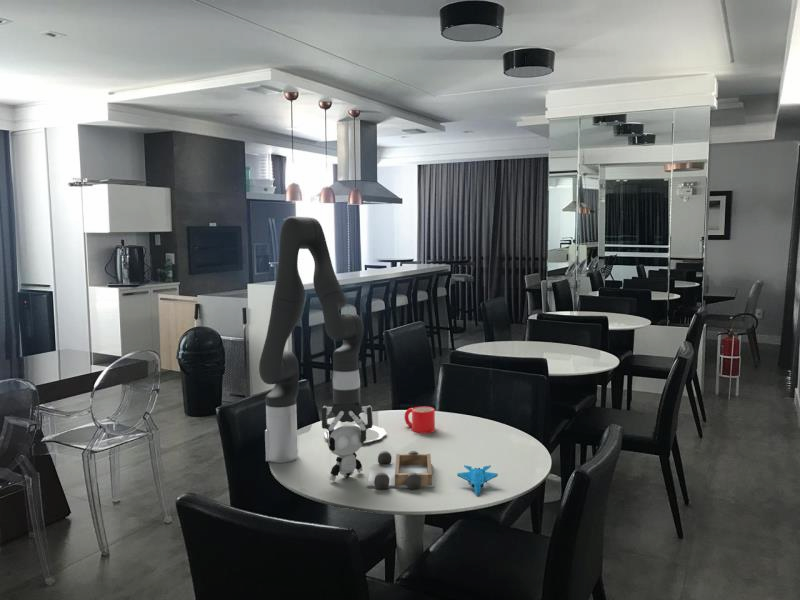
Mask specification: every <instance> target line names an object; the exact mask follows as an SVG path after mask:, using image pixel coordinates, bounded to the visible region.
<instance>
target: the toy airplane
mask: <svg viewBox="0 0 800 600" xmlns="http://www.w3.org/2000/svg"><path fill="white" fill-rule="evenodd" d="M463 467H464V468H465V469H467V471H464V472H457V474H456V475H457V477H459V478H461V479H463V480H465V481H467V482H468V483H470V486H471V487H472V488H473V489H474V492H475V495H476V496H477V497H478V496H479V495H480V493H481V490H482V488H483V487H485V484H488V481H491V480H492V479H495V478H497V477H498V474H499V473H496V472H490V471H488V470H489V469H490V468H492V466H491V465H490V464H489V465H485V466H483V467H482V468H480V467H478V468H477V467H474V468H472V466H470V465H465V464H464V466H463Z"/></svg>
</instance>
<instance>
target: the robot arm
mask: <svg viewBox="0 0 800 600" xmlns="http://www.w3.org/2000/svg"><path fill="white" fill-rule="evenodd" d="M279 236H280V237H279V246H278V247H279V251H278V263H277V273H276V278H275V279H276V280H275V286H274V290H273V294H272V295H273V296H272V302H271V307H270V308H271V309H270V315H269V316H270V317H269V321H268V326H267V331H266V336H265V341H264V344H263V348H262V352H261V354H260V355H261V356H260V360H259V364H258V373H259V376H260V379H261V380H262V382H263V383H265V384H266V385H274V387H273V388H272V389H271V391H269V392H268V393H267V394H266V395H265V415H266V416H265V420H266V421H265V423H266V429H265V430H264V442H265V445H264V446H265V448H264V449H265V462H271V463H276V464H278V463H280V464H283V463H290V462H292V461H295V460H297V459H298V458H297V457H299V455H298V452H299V451H298V450H299V449H298V421H297V416H298V415H297V413H298V412H297V398H298V395H299V386H300V385H299V383H300V381H299V379H300V368H299V367H300V366H299V362H298V361H299V360H298V358H297V356H296V355H295V354H294V353H293V352H292V351H290V350H285V348H286V344H287V341H288V340H289V337H290V336H291V334H292V333H293V331H294V330H295V327H297V325H298V323H299V321H300V320H301V317H302V315H303V310H304V305H305V300H306V291H305V287H304V284H303V281H302V279H301V276H300V273H299V269H298V260H299V258H298V257H299V251H300V249H301V250H308V251H309V253H310V255H311V256H312V259H313V263H314V269H313V270H314V271H313V289H314V291H315V293H316V296H317V298H318V301H319V303H320V305H321V308H322V314H323V321H324V322H323V323H324V328H325V329H324V330H325V332H326V334H327V336H328V337H329V338H330V339H331V340H333V341H336V342H341V341H343V343H342V344H341V346H340V347H338V348H336V349H335V350H334V351H333V354H332V370H333V371H332V372H333V373H332V400H333V401H332V403H333V404H332V406H328V405H323V406H322V409H321V428H322V429H323V430H325V429H326V431H329V438H330V435H331V433H332V432H333V431H334V427H336V426H337V424H338V423H339V422H341V423H345V422H348V423H353V422H355V424H357V425H359V427H360V428H361V443H364V442H366V440H367V430H368V429H369V428H372V425H373V424H374V423H373V406H372V405H370V404H369V405H367V406H362V404H361V379H360V376H361V375H360V370H359V353H360V349H361V346H362V345H361V344H362V341H363V336H364V329H365V328H364V322H363V319H362V318H361V316H360V315H358V314H356V313H345V314H341V313H340V312H339V311H340V310H342V309H343V308H344V307H345V306H346V305H347V299H346V296H345V294H344V291H343V289H342V286H341V285H340V282H339V279H338V277H337V275H336V273H335V269H334V267H333V263H332V259H331V256H330V255H331V254H330V251H329V247H328V244H327V240H326V236H325V233H324V230H323V227H322V224H321V223H320V221H319V220H318V219H316V218H314V217H310V216H308V217H307V216H294V215H293V216H288V217H287V218H286V219H285V220H284V221H283V223H282V226H281V230H280V235H279ZM362 411H363V412H364V414H365V415H366V417H367V422H366V423H365V421H364V420H363V418H362V417H361V416H360V415H361V413H362ZM330 412H331V413H333V415H334V416H335V417H334V419H332V421H331V423H328V415H329V414H331V413H330ZM373 426H374V425H373ZM364 444H365V443H364ZM296 458H297V459H296Z"/></svg>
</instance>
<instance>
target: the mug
mask: <svg viewBox="0 0 800 600" xmlns="http://www.w3.org/2000/svg"><path fill="white" fill-rule="evenodd" d="M435 412H436V411H435V408H434V407H432V406H414V407H410V408H408V409H407V410H406V411H405V413H404V421H405V423H406V425H407V426H408V427H409V428H411V430H412V431H413V432H414V433H416V434H417V433H418V434H430V433H432V432H435V430H436V422H435V421H436V420H435V419H436V415H435V414H436V413H435ZM410 414H411V421H410V418H409V415H410Z"/></svg>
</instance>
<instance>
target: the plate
mask: <svg viewBox="0 0 800 600" xmlns="http://www.w3.org/2000/svg"><path fill="white" fill-rule="evenodd" d="M354 425H355V426H358V427H359V425H357V423H355V424H354ZM341 426H342V425H339V426H335V427H334V430H335V429H337V428H338V427H341ZM367 430H370V431H372V432H376V433H377V434H378V437H377V438H374V439H372V440H371V439H370V440H367V441H364V443H362V445H363V444H368V443H373V442H375V441H378V440H381V439H383V438H384V437H385V436H386V435H387V431H386V430H385V429H384V428H383V427H379V426H376V425H372V428H369V429H367ZM326 431H327V432H328V438H329V431H328V430H326ZM326 431H324V433H323V435H324V439H326V440H328V439H327V434H326Z"/></svg>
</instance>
